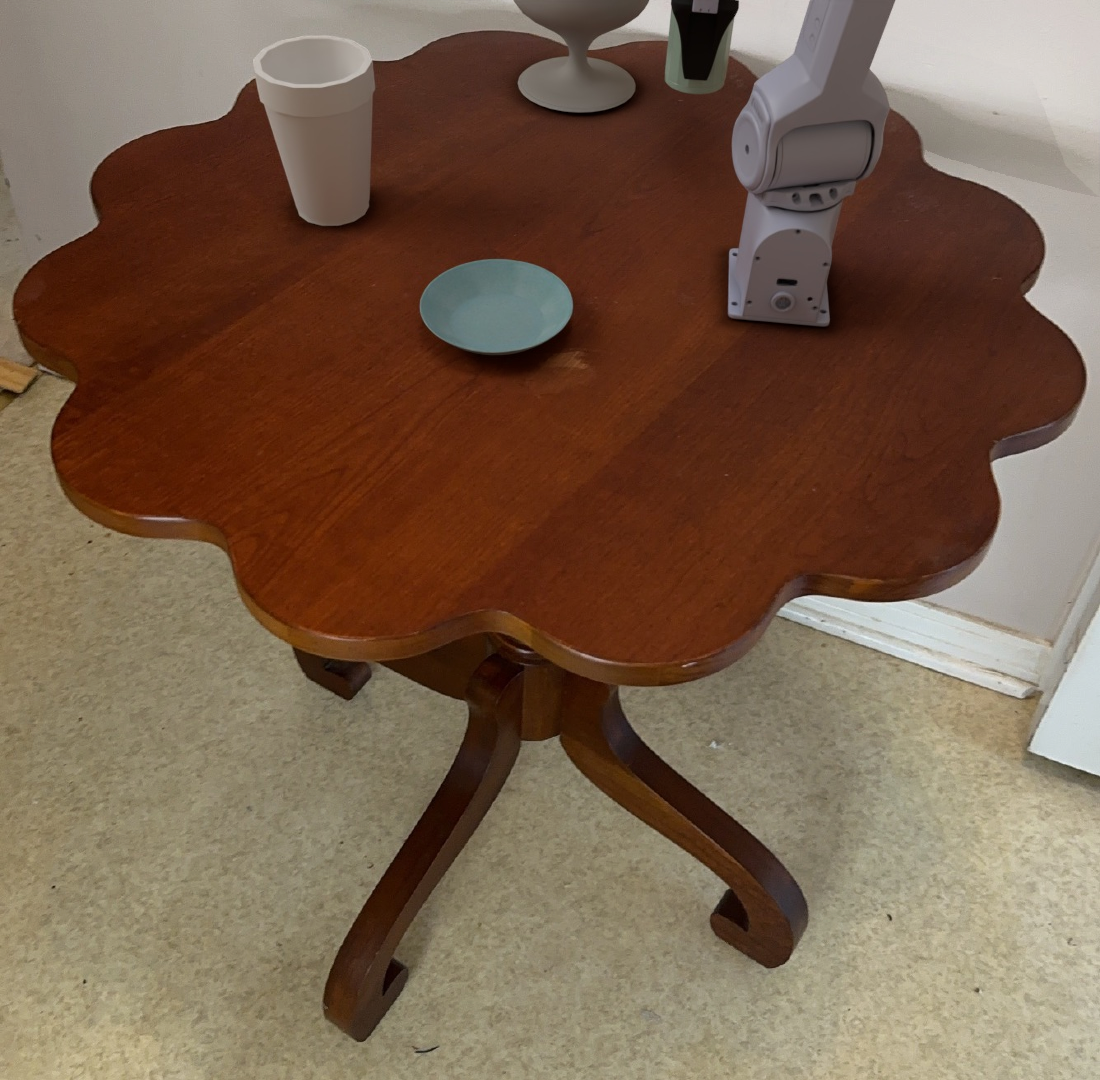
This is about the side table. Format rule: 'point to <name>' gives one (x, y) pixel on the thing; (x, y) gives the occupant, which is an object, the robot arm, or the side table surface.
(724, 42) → the glass
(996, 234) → the side table surface
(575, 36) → the chalice
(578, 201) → the side table surface
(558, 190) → the side table surface
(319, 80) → the foam cup
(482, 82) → the side table surface
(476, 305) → the saucer
